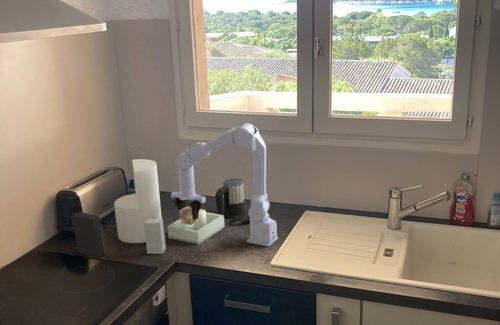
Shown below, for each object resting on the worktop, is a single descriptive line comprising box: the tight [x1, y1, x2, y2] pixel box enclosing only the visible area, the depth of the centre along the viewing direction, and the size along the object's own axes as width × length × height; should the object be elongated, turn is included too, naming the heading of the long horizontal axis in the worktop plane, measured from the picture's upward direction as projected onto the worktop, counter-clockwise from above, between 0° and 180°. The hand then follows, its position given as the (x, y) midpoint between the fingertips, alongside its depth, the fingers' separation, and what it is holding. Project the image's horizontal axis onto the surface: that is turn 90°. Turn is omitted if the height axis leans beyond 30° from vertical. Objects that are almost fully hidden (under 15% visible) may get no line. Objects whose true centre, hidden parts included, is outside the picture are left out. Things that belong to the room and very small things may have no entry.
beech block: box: [178, 205, 199, 225], centre depth 204 cm, size 5×5×5 cm
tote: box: [167, 211, 225, 246], centre depth 210 cm, size 14×18×5 cm
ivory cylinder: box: [194, 208, 207, 231], centre depth 211 cm, size 5×5×7 cm
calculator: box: [70, 211, 106, 259], centre depth 194 cm, size 11×4×15 cm, turn 59°
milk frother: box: [215, 177, 250, 223], centre depth 221 cm, size 14×16×15 cm
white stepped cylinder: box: [113, 158, 163, 244], centre depth 208 cm, size 17×17×28 cm
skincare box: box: [144, 218, 167, 255], centre depth 194 cm, size 6×4×12 cm
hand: (189, 217), depth 205 cm, fingers closed on beech block, 5 cm apart
